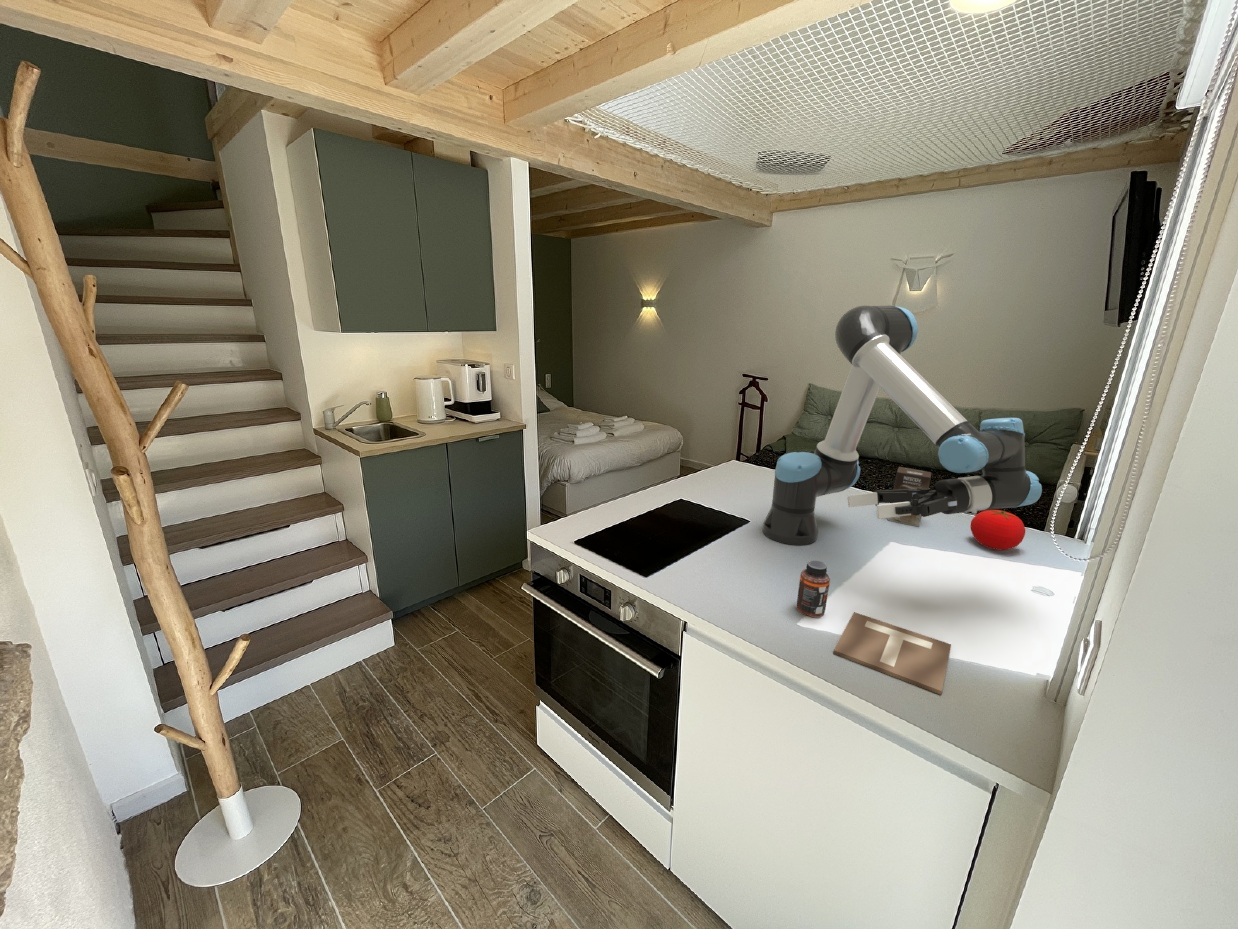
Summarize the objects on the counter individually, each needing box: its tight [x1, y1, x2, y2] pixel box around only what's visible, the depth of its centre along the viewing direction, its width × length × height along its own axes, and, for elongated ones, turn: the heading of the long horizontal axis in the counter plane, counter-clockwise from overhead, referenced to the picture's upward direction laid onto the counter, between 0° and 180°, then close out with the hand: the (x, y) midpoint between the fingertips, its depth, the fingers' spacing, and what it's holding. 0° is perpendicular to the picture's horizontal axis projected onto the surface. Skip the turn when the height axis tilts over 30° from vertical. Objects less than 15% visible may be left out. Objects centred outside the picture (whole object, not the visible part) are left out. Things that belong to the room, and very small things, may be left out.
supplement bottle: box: [796, 560, 831, 618], centre depth 112 cm, size 6×6×11 cm
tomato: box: [970, 509, 1026, 551], centre depth 143 cm, size 11×12×10 cm
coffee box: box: [886, 466, 932, 528], centre depth 159 cm, size 9×6×16 cm
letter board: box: [832, 611, 952, 696], centre depth 100 cm, size 18×16×1 cm
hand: (862, 506), depth 113 cm, fingers open, 13 cm apart
